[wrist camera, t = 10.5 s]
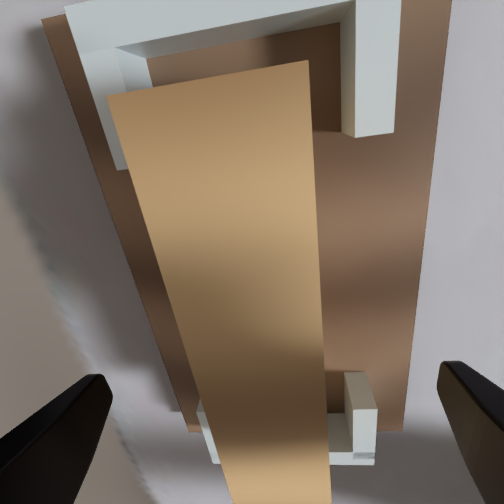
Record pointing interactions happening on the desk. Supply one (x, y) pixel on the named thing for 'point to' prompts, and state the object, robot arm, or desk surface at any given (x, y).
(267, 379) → the tan wooden bar
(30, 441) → the robot arm
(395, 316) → the holder
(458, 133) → the desk surface
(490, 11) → the desk surface
